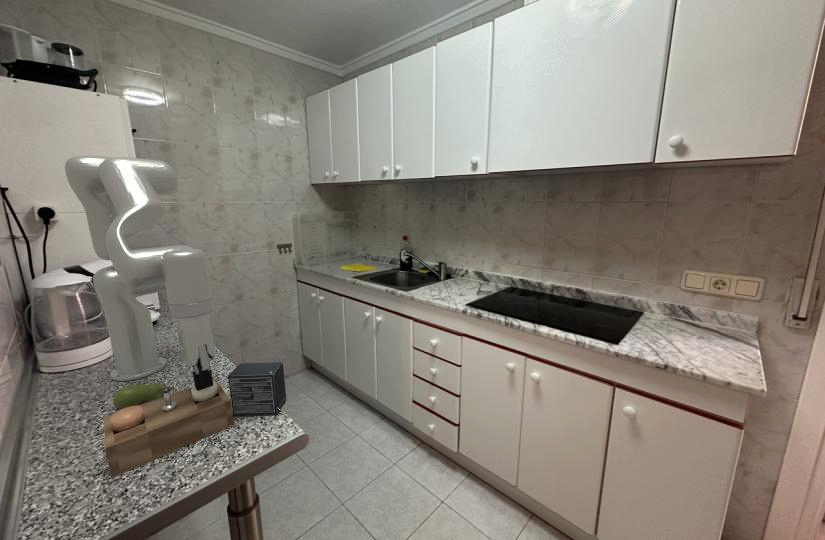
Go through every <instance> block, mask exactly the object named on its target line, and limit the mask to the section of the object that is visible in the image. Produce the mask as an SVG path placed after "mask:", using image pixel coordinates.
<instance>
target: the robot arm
mask: <svg viewBox="0 0 825 540" xmlns="http://www.w3.org/2000/svg"><path fill="white" fill-rule="evenodd" d="M64 172H65V176H66V179H67V182H68V184H69V186H70V189H71V190H72V191H73V193H74V194H75V196H76V198H77V199H78V201H79V202H80V203H81V205H82V207H83V209H84V212H85V216H86V219H87V220H86V221H87V225H88V230H89V233H90V234H89V235H90V239H91V243H92V248H93V249H94V253H95V254H96V256H97V257H98V258H99V259H101V260H104V261H111V263H112V265H109V266H105V267H102V268H101V269H98V270H97V271H96V272H94V274H93V276H92V277H93V278H92V282H93V283H92V284H93V286H94V289H95V291H96V294H97V296H98V298H99V300H100V303H101V306H102V309H103V312H104V317H105V321H106V325H107V330H108V335H109V339H110V345H111V348H112V354H113V358H114V362H115V363H114V364H115V368H114V369H113V370H111V372H110V375H109V376H110V378H111V380H113V381H115V382H125V381H128V382H129V381H133V380H137V379H141V378H144V377H147V376H151V375H153V374H155V373H157V372H159V371H161V370H162V369H163V368H164V367H165V366H166V365H167V360H166V358H164V357H162V356H159V352H158V348H157V347H158V346H157V341H156V336H155V331H154V325H153V321H152V320H153V319H152V315H151V310H150V308H149V307H148V306H147V305H146V304H144V303H142V302H141V301H140V300H137V298H138V297H139V298H140V297H142V296H146V295H151V294H158V293H161V292H165V291H166V297H167V303H168V309H169V314H170V320H172V321H176V326H177V327H176V328H177V336H178V343H179V351H180V355H181V357H182V359H183V361H184V363H185V364H186V366H187V367H189V368H192V370H193V371H192V376H193V382H194V386H195V388H196V390H197V391H199V390H202V389H205V388H208V387H211V386H213V380H214V377H213V371H212V368H211V362H210V360H211V361H214V359H215V358H216V352H215V351H216V350H215V344H214V337H213V331H212V327H211V325H212V324H211V321H210V316H211V314H213V313H214V312H215V311H214V303H213V298H212V297H213V296H212V290H211V283H210V275H209V270H208V263H207V257H206V253H205V252H204V251H203V250H202V249H197V248H193V247H191V246H189V245H186V244H185V245H184V244H183V245H181V244H180V245H179V244H178V245H171V246H170V244H169V240H168V237H167V234H166V232H165V231H164V230H163V228H162V227H161V226H159V225H158V223H160V222H161V221H162V220H163V219H164V217H165V216H166V208H165V205H164V203H163V201H162V199H161V198H160V195H161V196H163V195H164V196H166V195H167V196H169V195H173V194H174V193H176V192H177V190H178V187H179V180H178V176H177V173H176V172H175V170H174V168H173V167H172V166H171V165H170V164H169V163H167V162H166V161H163V160H159V159H149V158H148V159H147V158H139V157H138V158H137V157H127V156H126V157H124V156H123V157H122V156H119V157H118V156H115V157H114V156H113V157H112V156H102V155H76V156H72V157H69V158H68V159H67V160H66V161H65V163H64ZM209 315H210V316H209Z"/></svg>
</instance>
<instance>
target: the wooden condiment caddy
mask: <svg viewBox="0 0 825 540" xmlns="http://www.w3.org/2000/svg"><path fill="white" fill-rule="evenodd" d="M213 381H215V382H216V383H217V389H218V393H217V394H216V395H215V398H212V399H209V400H206V401H204V402H201V403H198V404H197V402H196V401H194V400H193V399H192V393H191V389H192V388H193V387H194V386H192V387H189V388H186V389H183V390H180V391H178V392H174V393H172V394H171V393H170V396H171V401H172V402H176V405H177V407H176V408H175V409H174V410H172V411H169V412H163V411H162V406H163V405H164V404H166V403H165V397H162V398H159V399H156V400H149V401H147V402H144V403H140V404H138V405H137V406H142V407H143V412H144V420H143V421H142V422H141V423H142V424H141V425H139V426H136V427H133V428H131V429H128V430H125V431H123V432H120V433H118V432H117V431H115V430H113V429H112V425H111V421H110V417H111V416H112V415H113V414H114V413H113V414H112V413H111V414H108V415H105V416H104V417H103V429H104V431H103V432H104V448H105V453H106V457H107V462H108V466H109V469H110V474H111V478H114V477H117V476H120V475H122V474H123V473H126V472H128V471H131V470H133V469H135V468H138V467H140V466H142V465H145V464H146V463H147V464H148V463H149V462H151V461H153V460H156V459H159V458H161V457H163V456H165V455H168V454H170V453H172V452H174V451H176V450H178V449H181V448H183V447H186V446H188V445H191V444H192V443H195V442H198V441H199V440H202V439H204V438H206V437H209V436H211V435H213V434H215V433H218V432H220V431H222V430H225V429H227V428H230V427H231V426H234V425H235V421H234V416H233V411H232V402H231V397H230V396H228V394H227V393H226V392H225V390H224V389H223V387H222V386H221V384H220V383H219V381H218V380H217V379H213Z"/></svg>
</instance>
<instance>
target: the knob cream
mask: <svg viewBox="0 0 825 540" xmlns="http://www.w3.org/2000/svg"><path fill="white" fill-rule="evenodd" d="M192 387H193V388H192ZM192 387H191V388H192V389H191V393H192V399H193V400H194V401H196V402H197V404H198V403H201V402H204V401H206V400H209V399H212V398H215V395H216V394H217V393H218V389H217V383H216V382H215V381H213V386H211V387H208V388H205V389H202V390H199V391H197V390H196V388H195V385H194V386H192Z"/></svg>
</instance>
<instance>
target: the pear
mask: <svg viewBox="0 0 825 540" xmlns="http://www.w3.org/2000/svg"><path fill="white" fill-rule="evenodd" d="M165 387H166V384H164V383H160V382H159V383H158V382H152V383H146V384H145V383H140V384H130V385H126V386H122V387H121V388H119V389H118V390H116V392H115V393H114V395H113V397H112V404H113V406H114V408H116V409H118V410H121V409H124V408H127V407H130V406H138V405H141V404H142V403H143V402H146V401H153V400H156V399H159V398H162V397H164V393H162V389H163V388H165Z"/></svg>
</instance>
